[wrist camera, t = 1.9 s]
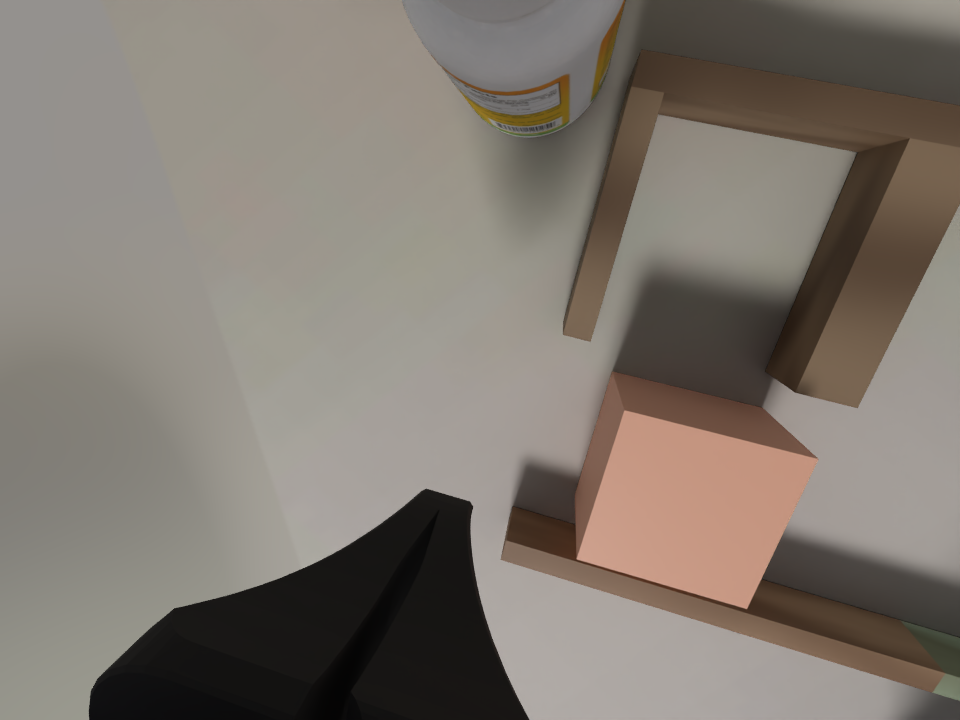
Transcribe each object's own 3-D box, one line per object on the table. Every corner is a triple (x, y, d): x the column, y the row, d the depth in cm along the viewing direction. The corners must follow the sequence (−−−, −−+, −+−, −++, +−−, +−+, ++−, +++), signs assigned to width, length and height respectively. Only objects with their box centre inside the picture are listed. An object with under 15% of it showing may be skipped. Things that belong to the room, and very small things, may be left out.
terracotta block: (709, 529, 20) (746, 609, 16) (574, 492, 21) (576, 559, 17) (760, 406, 19) (818, 459, 14) (611, 370, 19) (624, 410, 15)
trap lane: (1093, 699, 19) (1168, 765, 17) (507, 524, 22) (500, 559, 20) (1488, 233, 13) (1685, 233, 11) (630, 75, 16) (641, 49, 14)
